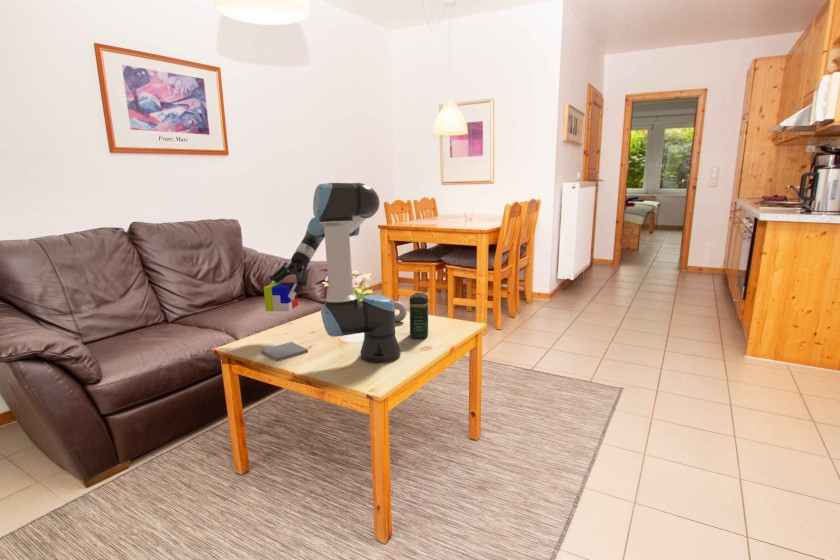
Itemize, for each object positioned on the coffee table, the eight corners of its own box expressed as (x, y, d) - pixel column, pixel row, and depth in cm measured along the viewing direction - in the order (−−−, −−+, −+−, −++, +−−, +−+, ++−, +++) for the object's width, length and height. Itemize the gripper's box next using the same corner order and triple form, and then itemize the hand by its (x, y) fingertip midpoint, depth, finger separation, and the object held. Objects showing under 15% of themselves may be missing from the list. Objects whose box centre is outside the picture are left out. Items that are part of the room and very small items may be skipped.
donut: (408, 321, 217) (407, 301, 215) (405, 323, 214) (404, 302, 212) (388, 319, 220) (388, 299, 218) (385, 321, 217) (385, 301, 215)
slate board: (307, 352, 178) (307, 349, 177) (276, 361, 169) (276, 358, 169) (291, 344, 187) (291, 341, 187) (261, 352, 178) (261, 349, 178)
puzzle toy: (289, 311, 185) (287, 287, 184) (265, 311, 187) (263, 287, 185) (298, 305, 195) (296, 282, 193) (276, 305, 196) (274, 282, 195)
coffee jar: (427, 339, 191) (427, 296, 187) (408, 339, 191) (408, 296, 188) (429, 332, 200) (428, 291, 196) (411, 332, 201) (410, 291, 197)
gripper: (328, 263, 195) (305, 304, 185) (288, 259, 208) (264, 298, 198) (318, 252, 189) (294, 294, 180) (278, 249, 202) (253, 288, 193)
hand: (278, 296), depth 189 cm, fingers closed on puzzle toy, 13 cm apart
